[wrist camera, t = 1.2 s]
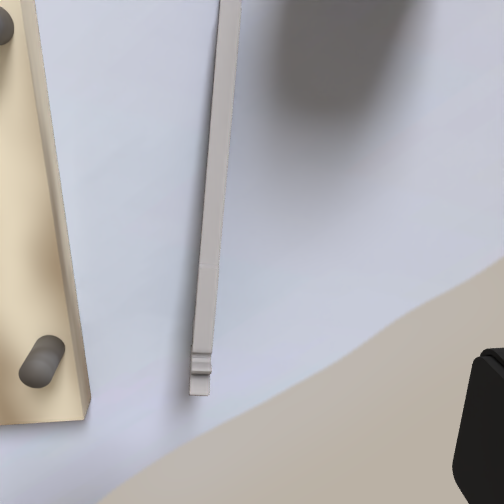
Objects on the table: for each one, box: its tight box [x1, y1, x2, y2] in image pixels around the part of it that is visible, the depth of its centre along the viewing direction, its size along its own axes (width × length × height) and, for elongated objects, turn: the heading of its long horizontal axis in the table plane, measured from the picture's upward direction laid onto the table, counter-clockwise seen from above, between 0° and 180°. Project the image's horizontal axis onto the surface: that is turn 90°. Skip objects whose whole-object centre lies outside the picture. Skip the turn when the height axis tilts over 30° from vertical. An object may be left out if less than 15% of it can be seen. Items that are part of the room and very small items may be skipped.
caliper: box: [189, 0, 241, 396], centre depth 23 cm, size 20×1×6 cm, turn 174°
